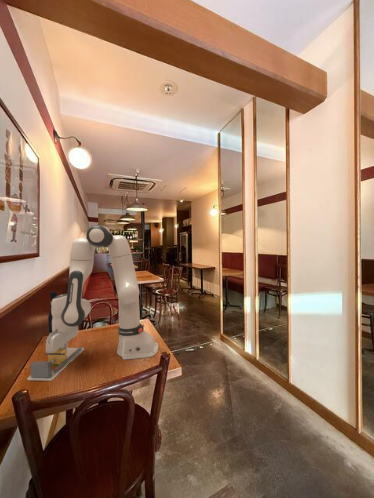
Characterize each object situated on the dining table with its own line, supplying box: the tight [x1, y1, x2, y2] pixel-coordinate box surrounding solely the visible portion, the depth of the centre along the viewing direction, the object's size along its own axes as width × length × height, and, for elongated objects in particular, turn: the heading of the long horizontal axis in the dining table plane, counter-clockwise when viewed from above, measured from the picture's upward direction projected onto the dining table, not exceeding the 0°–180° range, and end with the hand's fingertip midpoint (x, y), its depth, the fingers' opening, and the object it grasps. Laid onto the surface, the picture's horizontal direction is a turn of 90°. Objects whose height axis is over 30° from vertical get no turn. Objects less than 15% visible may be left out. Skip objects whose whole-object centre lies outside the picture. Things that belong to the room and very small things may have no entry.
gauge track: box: [26, 346, 85, 382], centre depth 104 cm, size 11×26×7 cm, turn 177°
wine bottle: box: [47, 290, 58, 335], centre depth 130 cm, size 6×6×30 cm
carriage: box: [43, 349, 67, 365], centre depth 101 cm, size 10×9×5 cm
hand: (63, 352), depth 108 cm, fingers closed
